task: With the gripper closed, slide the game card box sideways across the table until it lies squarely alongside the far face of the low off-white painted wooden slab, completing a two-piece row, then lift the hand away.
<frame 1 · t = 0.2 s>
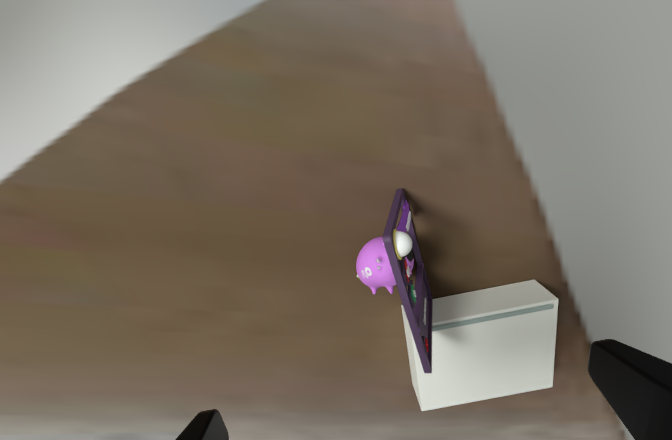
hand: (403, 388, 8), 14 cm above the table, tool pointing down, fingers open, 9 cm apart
slab: (469, 334, 25), on the table
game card: (385, 254, 22), on the table
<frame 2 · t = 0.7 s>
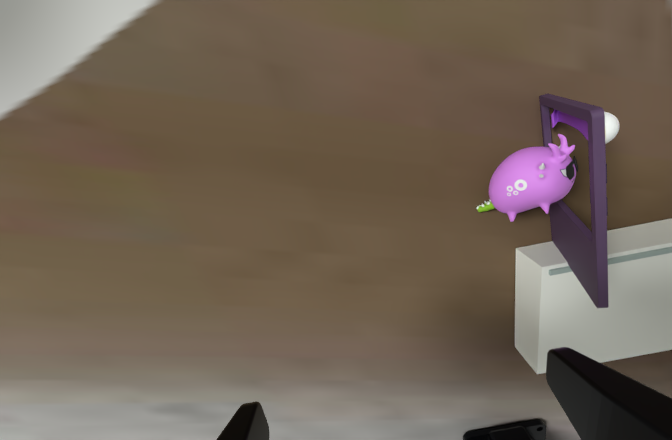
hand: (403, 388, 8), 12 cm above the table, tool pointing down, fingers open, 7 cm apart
slab: (588, 286, 21), on the table
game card: (509, 183, 19), on the table
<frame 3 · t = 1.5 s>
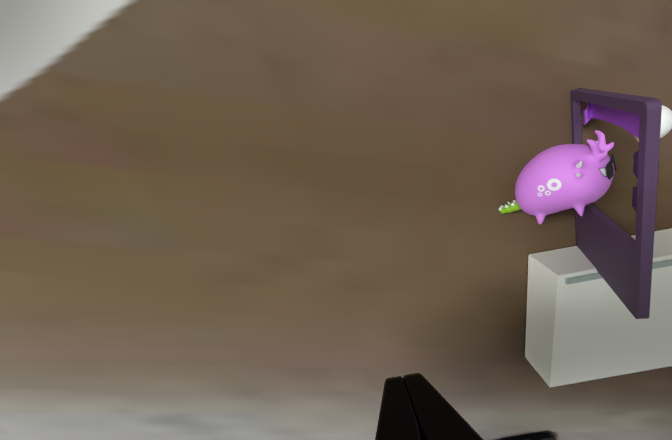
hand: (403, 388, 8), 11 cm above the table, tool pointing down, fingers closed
slab: (603, 295, 20), on the table
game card: (534, 183, 18), on the table
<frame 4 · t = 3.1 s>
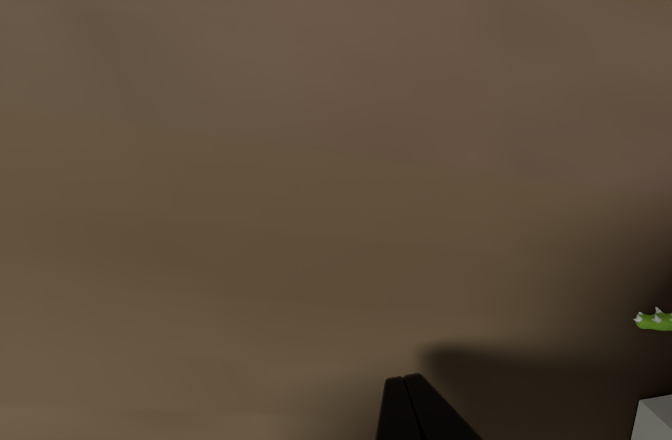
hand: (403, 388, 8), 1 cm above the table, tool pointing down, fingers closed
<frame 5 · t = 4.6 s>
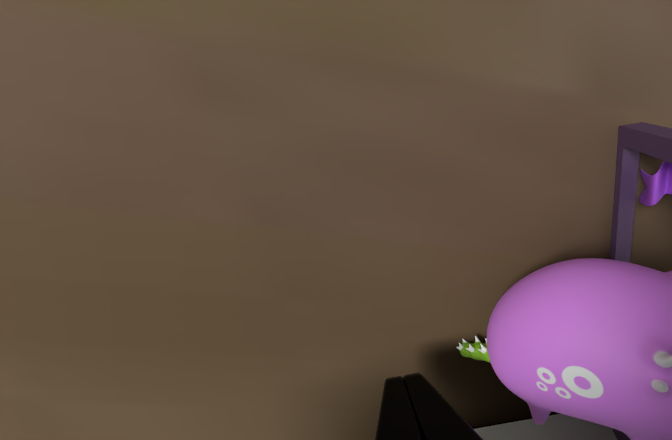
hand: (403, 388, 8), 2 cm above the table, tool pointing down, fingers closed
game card: (529, 299, 9), on the table
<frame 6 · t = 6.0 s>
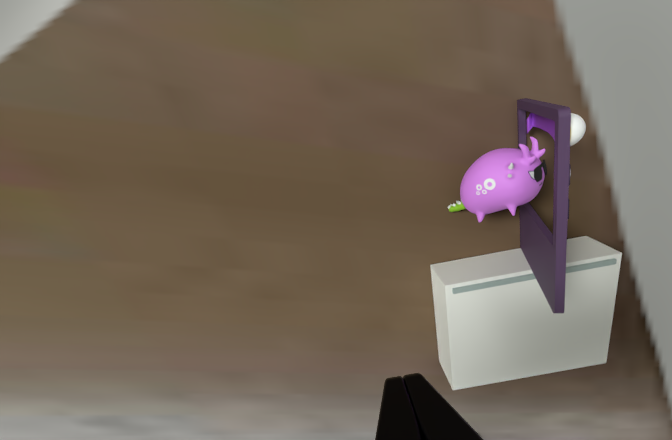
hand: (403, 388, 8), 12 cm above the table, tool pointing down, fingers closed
slab: (507, 302, 21), on the table
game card: (483, 185, 19), on the table
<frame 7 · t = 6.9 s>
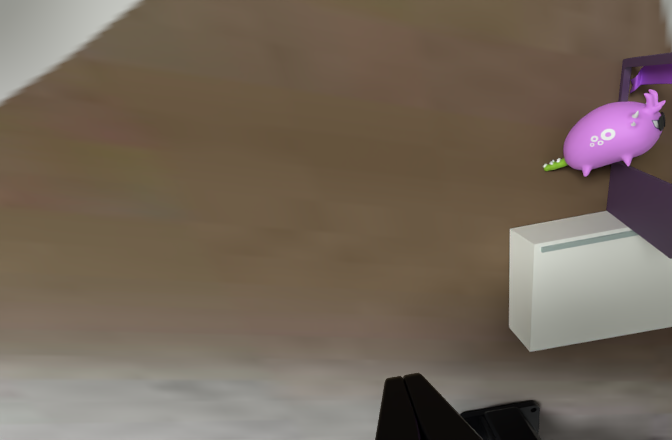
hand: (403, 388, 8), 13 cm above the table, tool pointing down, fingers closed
slab: (580, 268, 22), on the table
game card: (577, 146, 19), on the table
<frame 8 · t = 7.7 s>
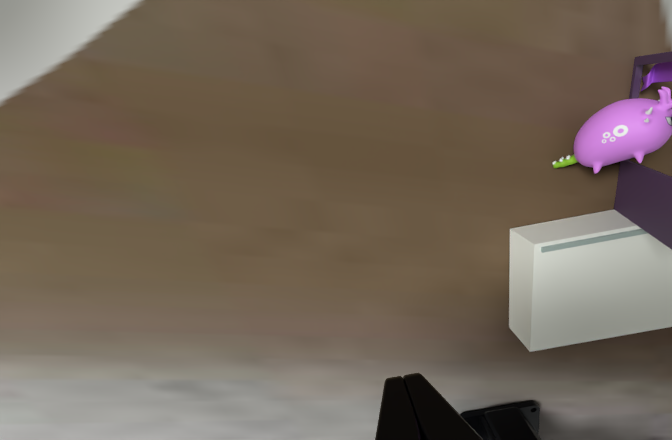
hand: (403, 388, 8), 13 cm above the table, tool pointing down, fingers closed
slab: (580, 268, 22), on the table
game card: (586, 144, 19), on the table
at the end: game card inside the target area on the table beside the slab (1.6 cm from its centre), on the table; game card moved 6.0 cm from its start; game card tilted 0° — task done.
